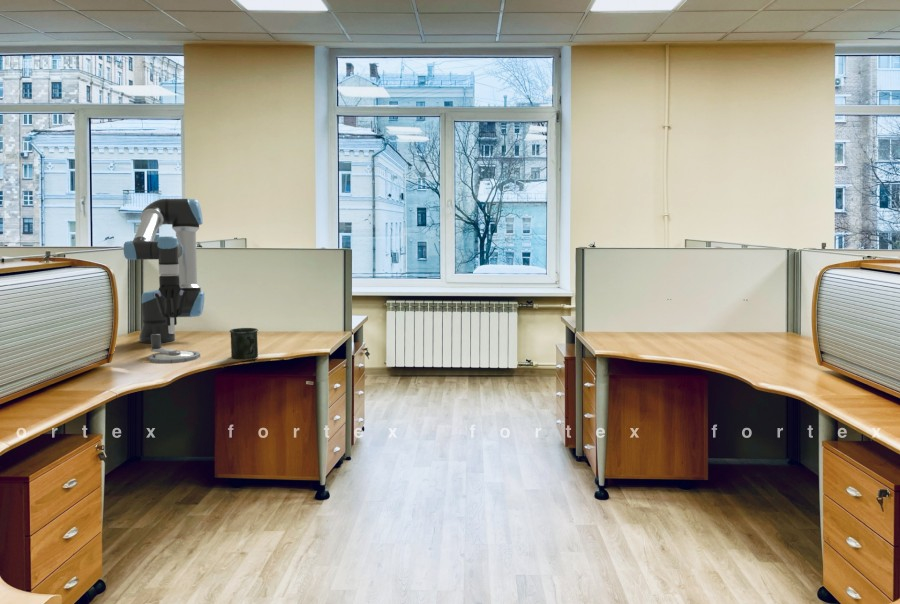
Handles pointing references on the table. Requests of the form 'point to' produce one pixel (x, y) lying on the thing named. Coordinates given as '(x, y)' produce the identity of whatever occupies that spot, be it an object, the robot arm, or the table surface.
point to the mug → (244, 344)
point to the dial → (166, 350)
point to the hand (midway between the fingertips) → (171, 333)
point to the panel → (153, 359)
